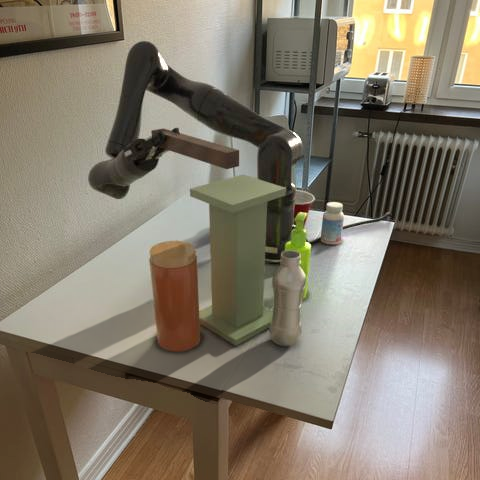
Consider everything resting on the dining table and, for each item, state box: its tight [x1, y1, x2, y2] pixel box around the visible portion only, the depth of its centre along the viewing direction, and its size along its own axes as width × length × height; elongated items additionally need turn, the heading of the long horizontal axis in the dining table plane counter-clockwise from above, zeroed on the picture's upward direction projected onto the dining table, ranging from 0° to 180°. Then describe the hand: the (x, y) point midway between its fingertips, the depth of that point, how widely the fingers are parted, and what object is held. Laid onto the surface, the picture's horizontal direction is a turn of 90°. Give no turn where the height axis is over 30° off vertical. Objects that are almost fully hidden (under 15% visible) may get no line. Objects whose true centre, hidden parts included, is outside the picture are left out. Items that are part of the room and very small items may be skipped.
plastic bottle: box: [268, 250, 306, 347], centre depth 98 cm, size 6×7×20 cm
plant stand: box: [189, 174, 286, 346], centre depth 102 cm, size 14×14×30 cm
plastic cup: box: [293, 189, 316, 230], centre depth 148 cm, size 11×11×12 cm
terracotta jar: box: [148, 240, 201, 352], centre depth 98 cm, size 9×9×20 cm
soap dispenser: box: [285, 212, 312, 301], centre depth 114 cm, size 6×7×20 cm
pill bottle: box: [320, 201, 345, 245], centre depth 144 cm, size 6×6×11 cm
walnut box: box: [150, 128, 240, 170], centre depth 98 cm, size 24×3×3 cm, turn 43°
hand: (171, 133), depth 101 cm, fingers closed on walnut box, 3 cm apart
